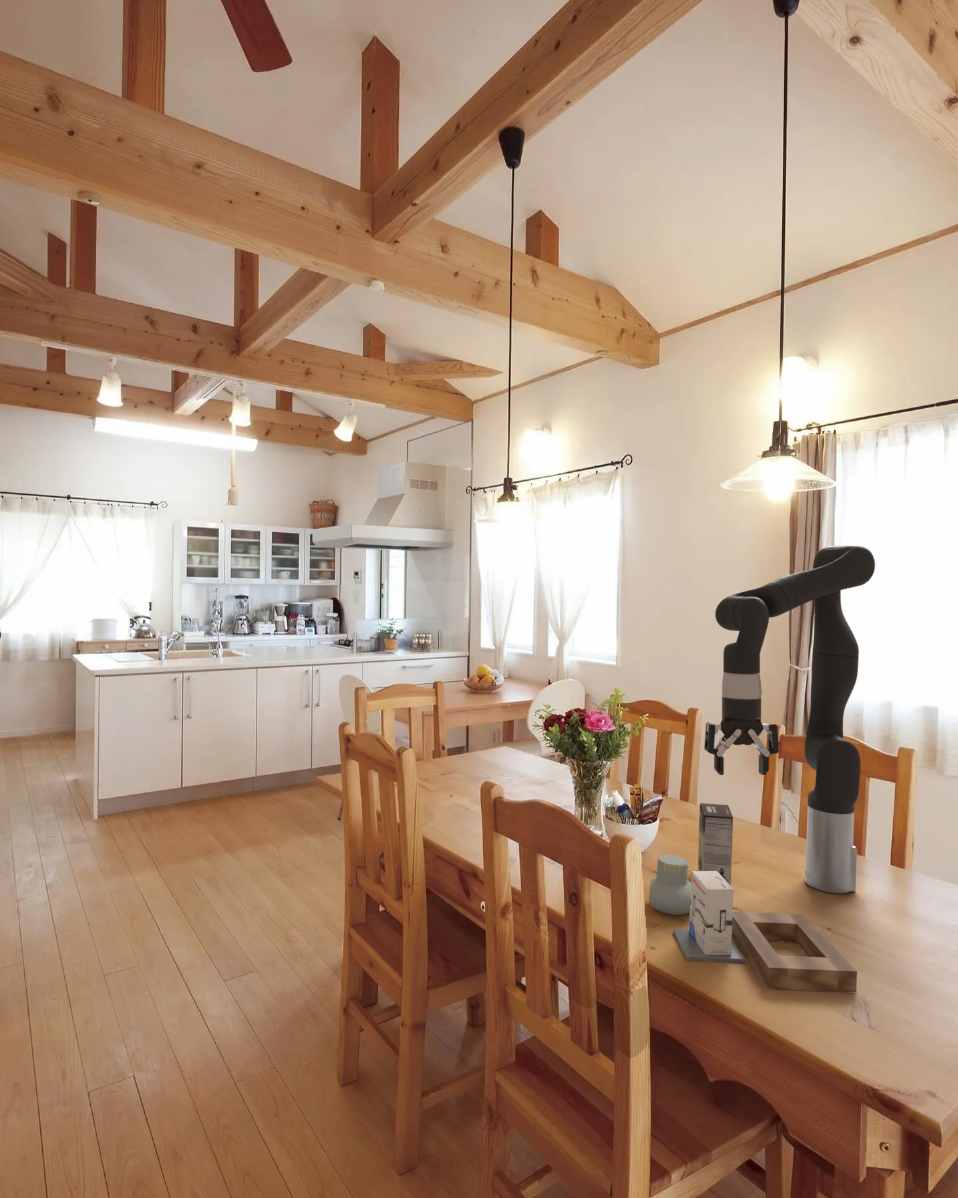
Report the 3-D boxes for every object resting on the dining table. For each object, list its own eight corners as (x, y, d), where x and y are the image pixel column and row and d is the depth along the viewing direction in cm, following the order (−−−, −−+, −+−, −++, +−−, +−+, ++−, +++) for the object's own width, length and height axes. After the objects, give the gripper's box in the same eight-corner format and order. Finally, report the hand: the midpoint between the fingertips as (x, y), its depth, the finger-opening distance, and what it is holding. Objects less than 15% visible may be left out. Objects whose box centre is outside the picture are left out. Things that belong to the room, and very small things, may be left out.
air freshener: (692, 924, 136) (693, 873, 135) (648, 917, 138) (649, 867, 138) (692, 901, 146) (694, 853, 146) (651, 895, 148) (653, 848, 148)
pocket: (803, 932, 133) (804, 914, 133) (856, 993, 113) (857, 971, 113) (728, 929, 134) (729, 911, 134) (768, 989, 114) (768, 967, 114)
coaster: (726, 934, 132) (726, 931, 132) (745, 962, 122) (745, 959, 122) (673, 932, 132) (673, 929, 132) (686, 960, 122) (686, 956, 122)
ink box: (687, 932, 131) (689, 869, 131) (713, 932, 131) (715, 869, 131) (705, 956, 122) (707, 888, 122) (732, 956, 123) (734, 889, 123)
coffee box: (696, 871, 162) (698, 802, 161) (726, 874, 160) (728, 804, 160) (701, 888, 153) (703, 814, 152) (732, 891, 151) (734, 816, 151)
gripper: (769, 692, 147) (769, 769, 147) (700, 692, 147) (700, 769, 147) (784, 697, 139) (784, 779, 139) (712, 697, 139) (711, 779, 140)
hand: (741, 774), depth 143 cm, fingers open, 8 cm apart
